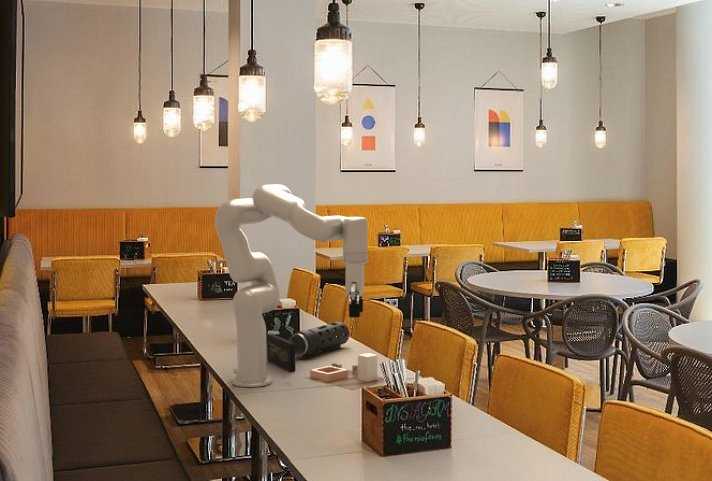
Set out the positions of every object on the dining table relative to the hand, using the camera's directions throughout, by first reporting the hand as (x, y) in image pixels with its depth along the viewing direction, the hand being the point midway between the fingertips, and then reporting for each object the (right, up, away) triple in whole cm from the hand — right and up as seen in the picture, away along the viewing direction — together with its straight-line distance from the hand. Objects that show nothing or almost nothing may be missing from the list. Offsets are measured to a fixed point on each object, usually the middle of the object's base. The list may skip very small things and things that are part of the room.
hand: (356, 314), depth 269 cm
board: (-3, -24, +21) cm, 32 cm away
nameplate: (-27, -22, +45) cm, 57 cm away
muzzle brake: (-14, -20, +67) cm, 71 cm away
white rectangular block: (+4, -23, +20) cm, 31 cm away
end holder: (-9, -24, +23) cm, 34 cm away
